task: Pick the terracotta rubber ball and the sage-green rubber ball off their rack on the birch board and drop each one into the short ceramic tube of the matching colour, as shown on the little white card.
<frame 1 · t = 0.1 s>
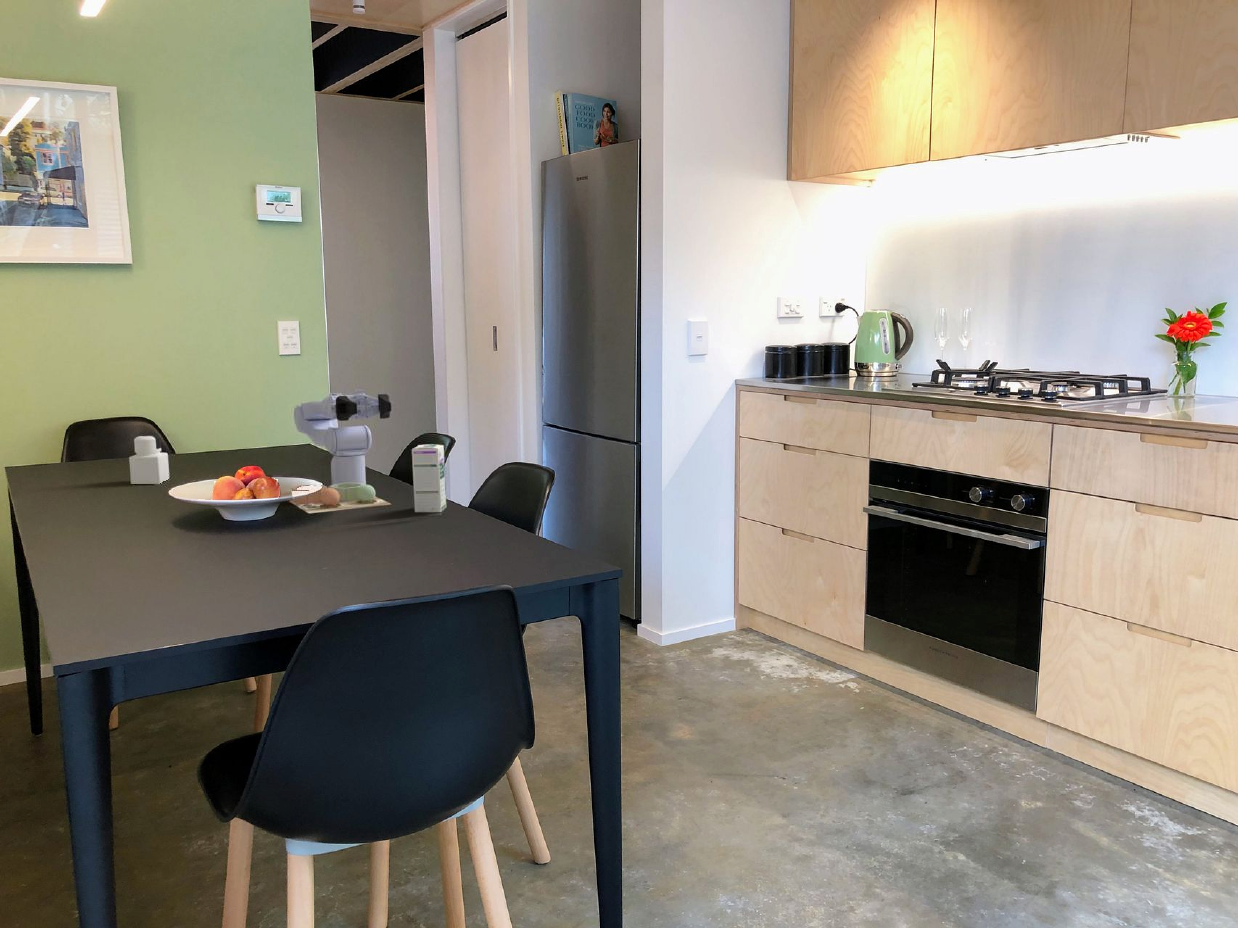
hand: (372, 407, 215), 22 cm above the table, tool horizontal, fingers open, 7 cm apart
terracotta tube: (310, 504, 217), resting on board
sage tube: (348, 501, 220), resting on board
medicine bottle: (150, 483, 247), on the table
sage ball: (366, 502, 215), point 1 cm above the table, touching board
syrup box: (430, 513, 207), on the table
terracotta ball: (330, 506, 211), point 1 cm above the table, touching board
board: (338, 505, 216), on the table
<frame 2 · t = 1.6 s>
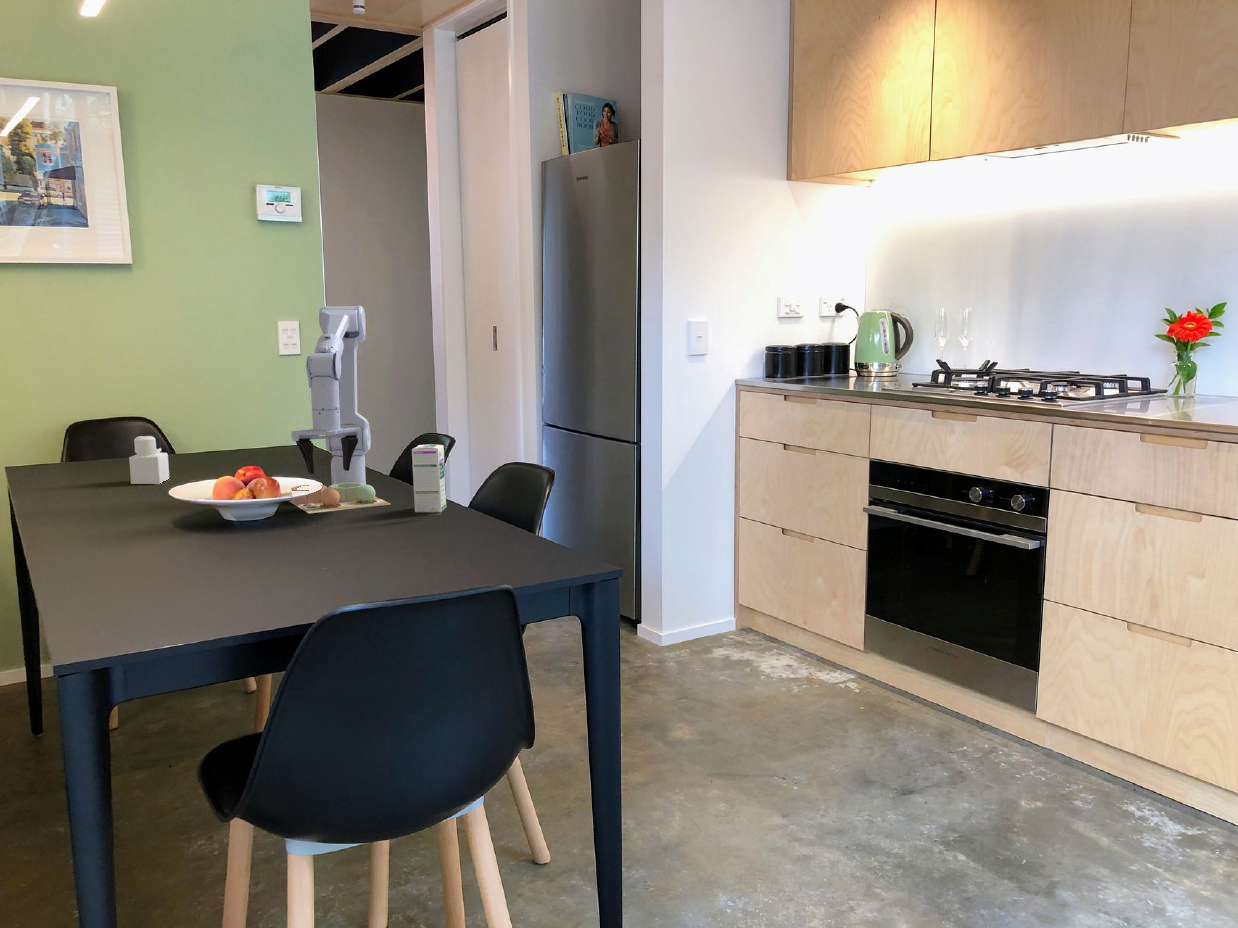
hand: (328, 471, 210), 8 cm above the table, tool pointing down, fingers open, 7 cm apart
nothing on the table moved.
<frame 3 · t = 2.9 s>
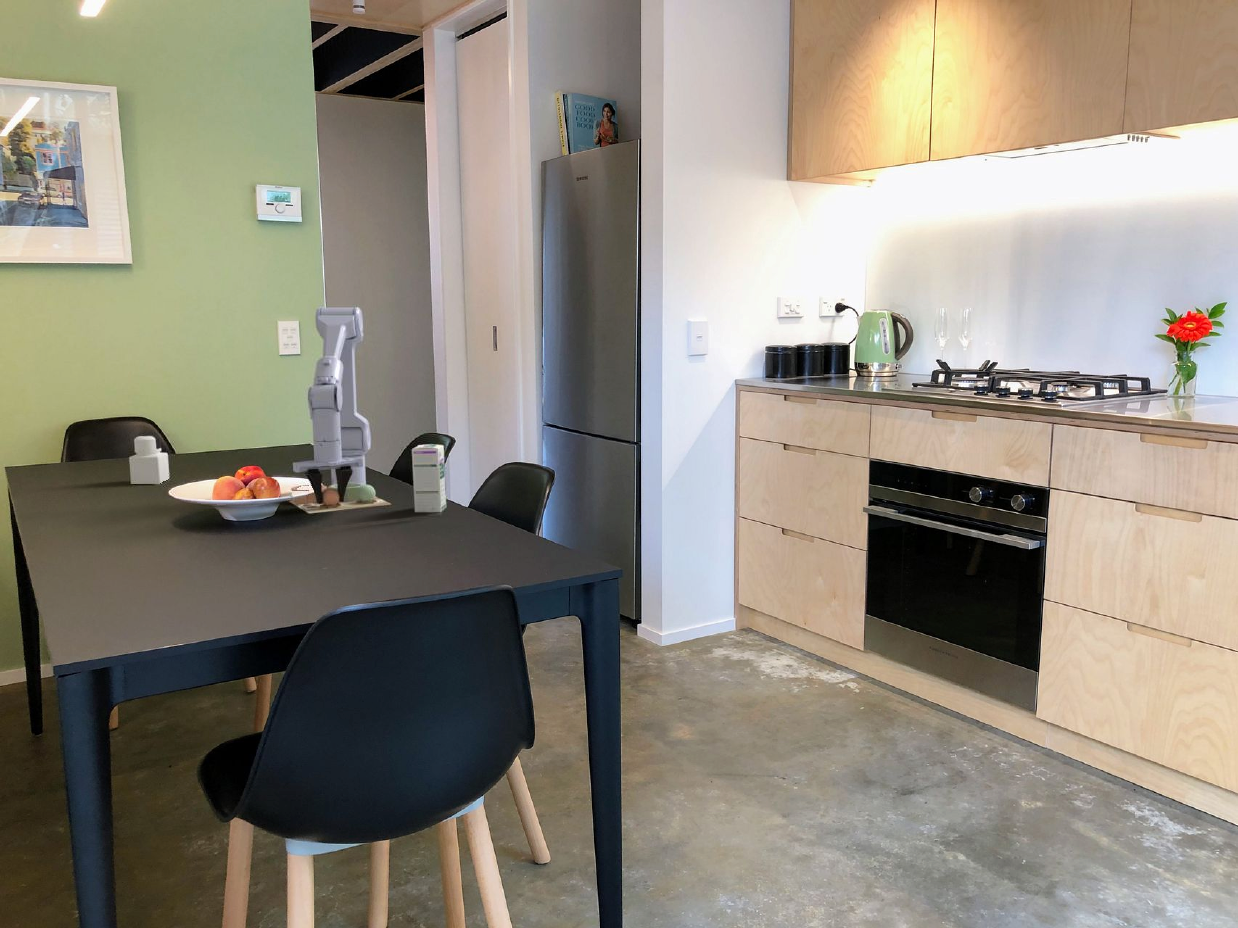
hand: (330, 502, 211), 2 cm above the table, tool pointing down, fingers closed on terracotta ball, 4 cm apart
terracotta ball: (330, 506, 211), point 1 cm above the table, touching board, gripper
everything else where it was.
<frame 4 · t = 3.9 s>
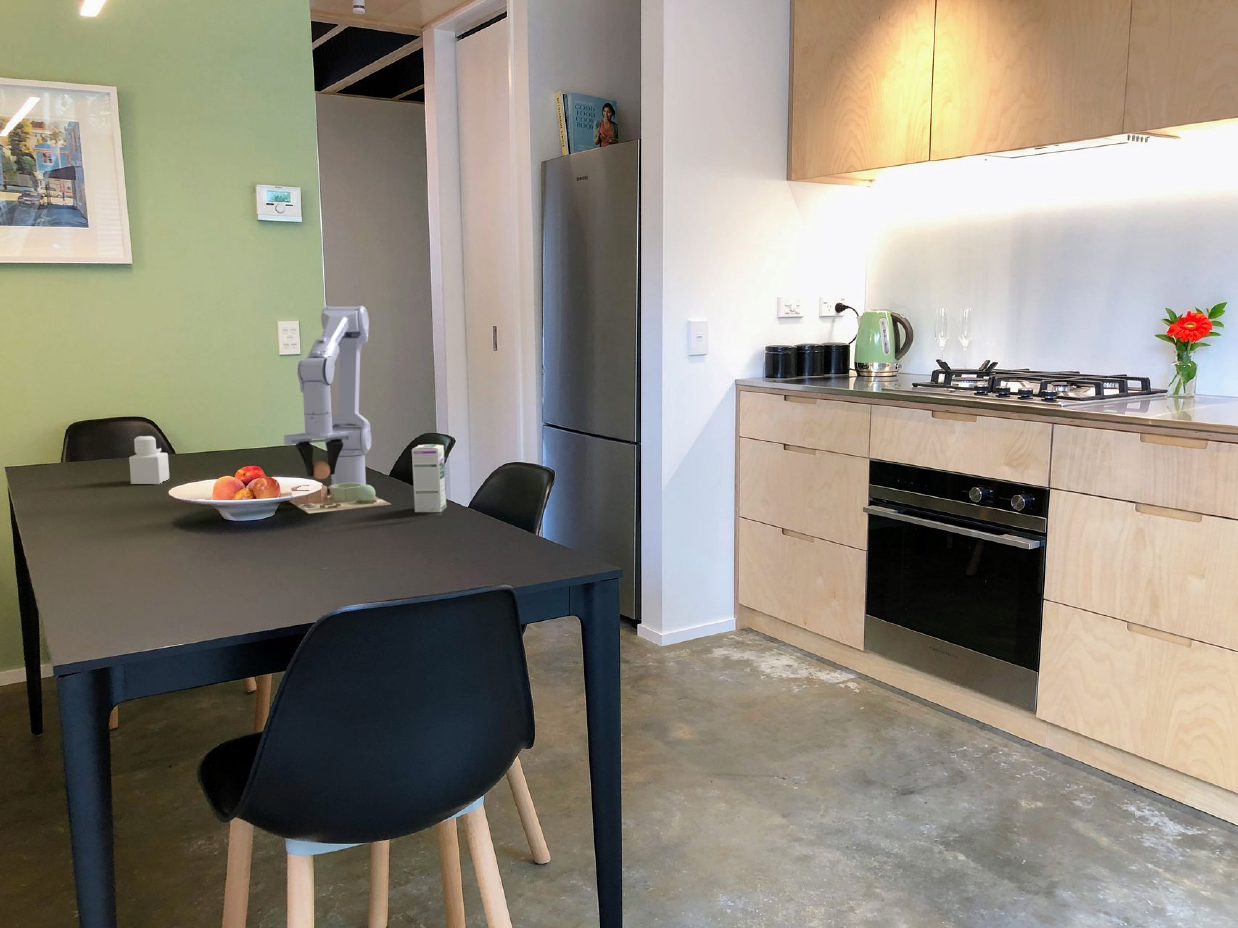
hand: (321, 475, 212), 7 cm above the table, tool pointing down, fingers closed on terracotta ball, 4 cm apart
terracotta ball: (321, 479, 213), point 6 cm above the table, touching gripper
everything else where it was.
when the fingers open (5 cm above the table, at t = 5.0 s): terracotta ball drops 3 cm, resting on board.
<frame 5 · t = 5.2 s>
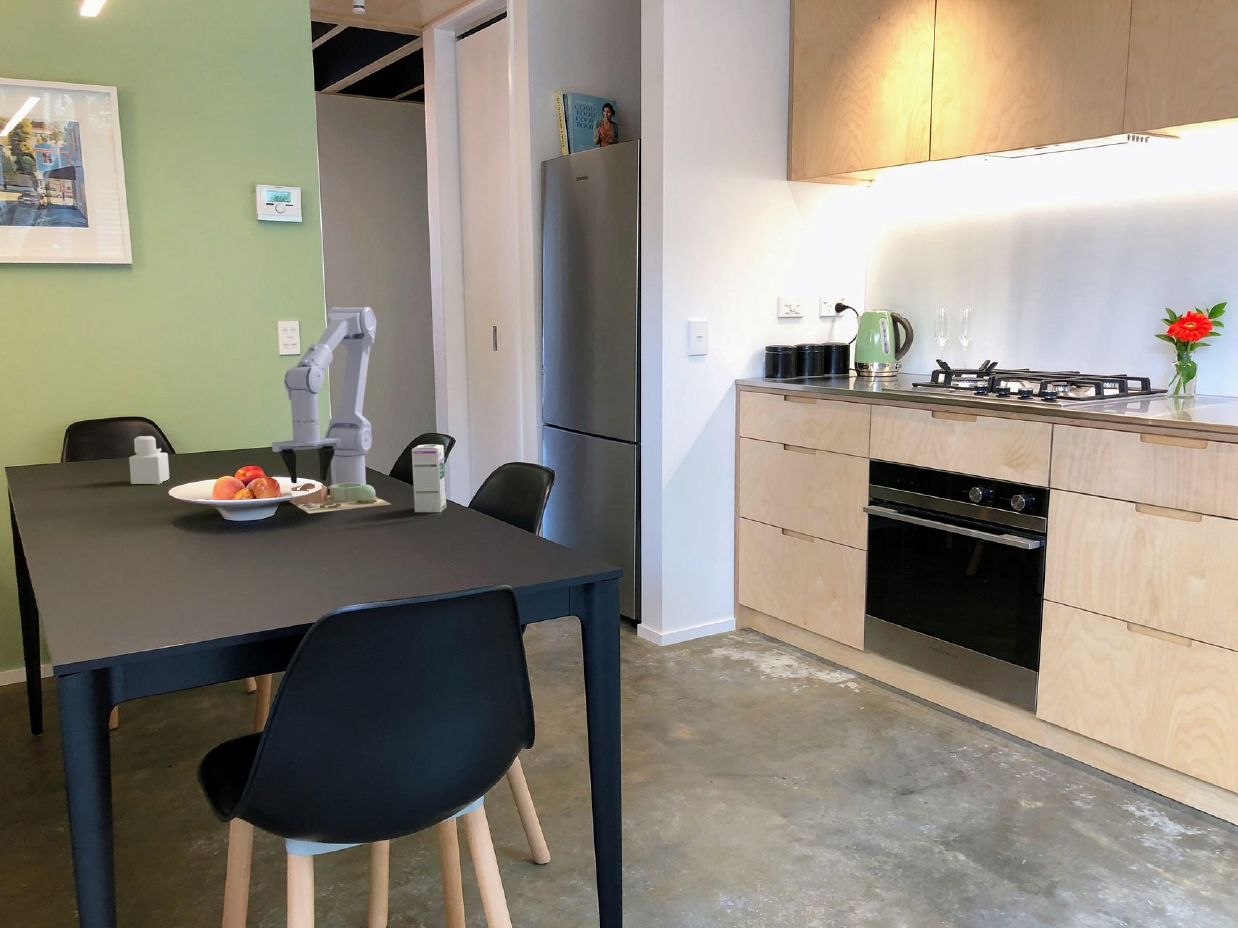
hand: (308, 481, 216), 5 cm above the table, tool pointing down, fingers open, 6 cm apart
terracotta ball: (310, 500, 217), point 1 cm above the table, tilted 6°, touching board
everything else where it was.
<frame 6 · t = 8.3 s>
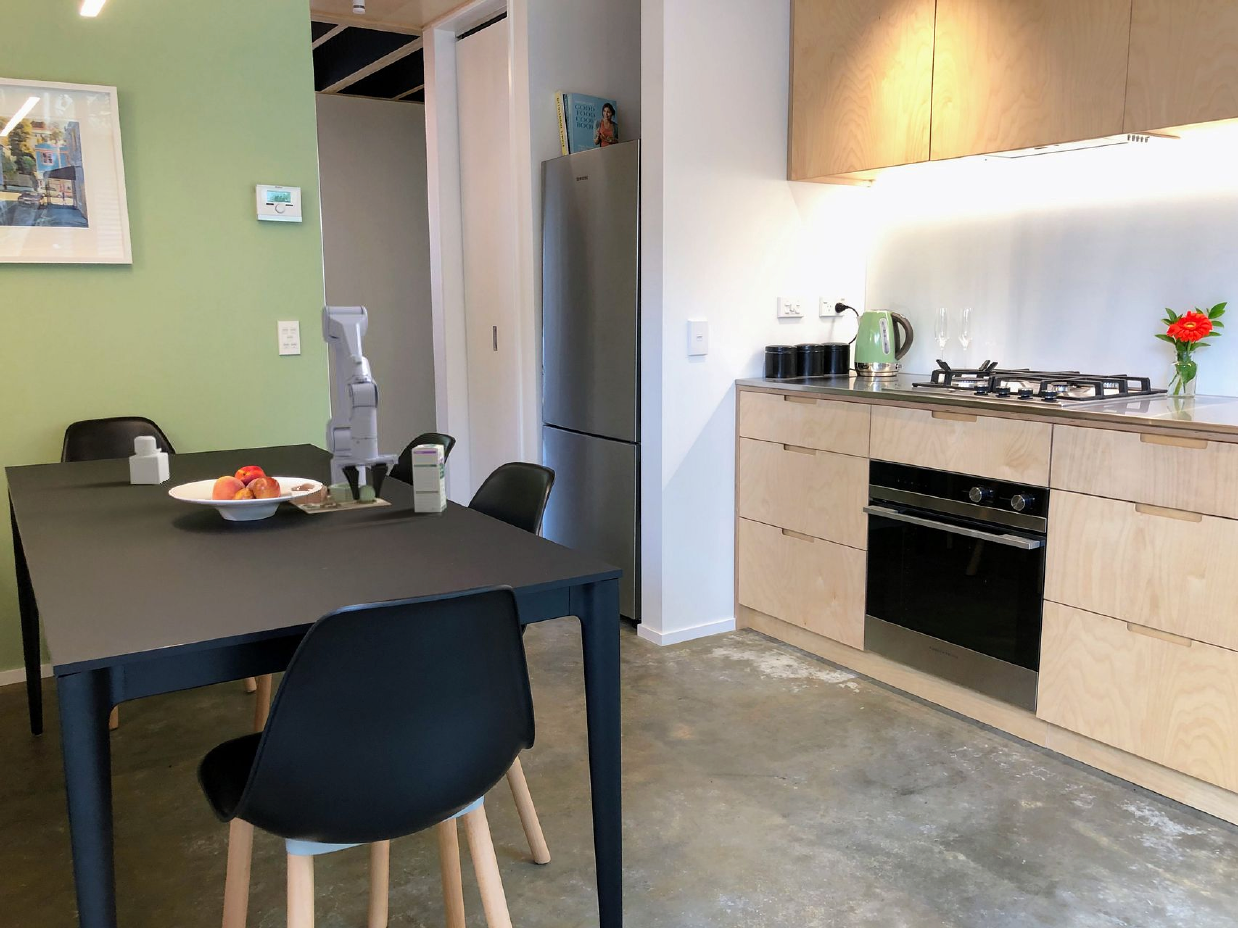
hand: (366, 498, 215), 2 cm above the table, tool pointing down, fingers closed on sage ball, 4 cm apart
sage ball: (366, 502, 215), point 1 cm above the table, touching board, gripper
terracotta ball: (310, 500, 217), point 1 cm above the table, tilted 14°, touching board
everything else where it was.
when the fingers open (5 cm above the table, at t = 10.2 s): sage ball drops 3 cm, resting on board.
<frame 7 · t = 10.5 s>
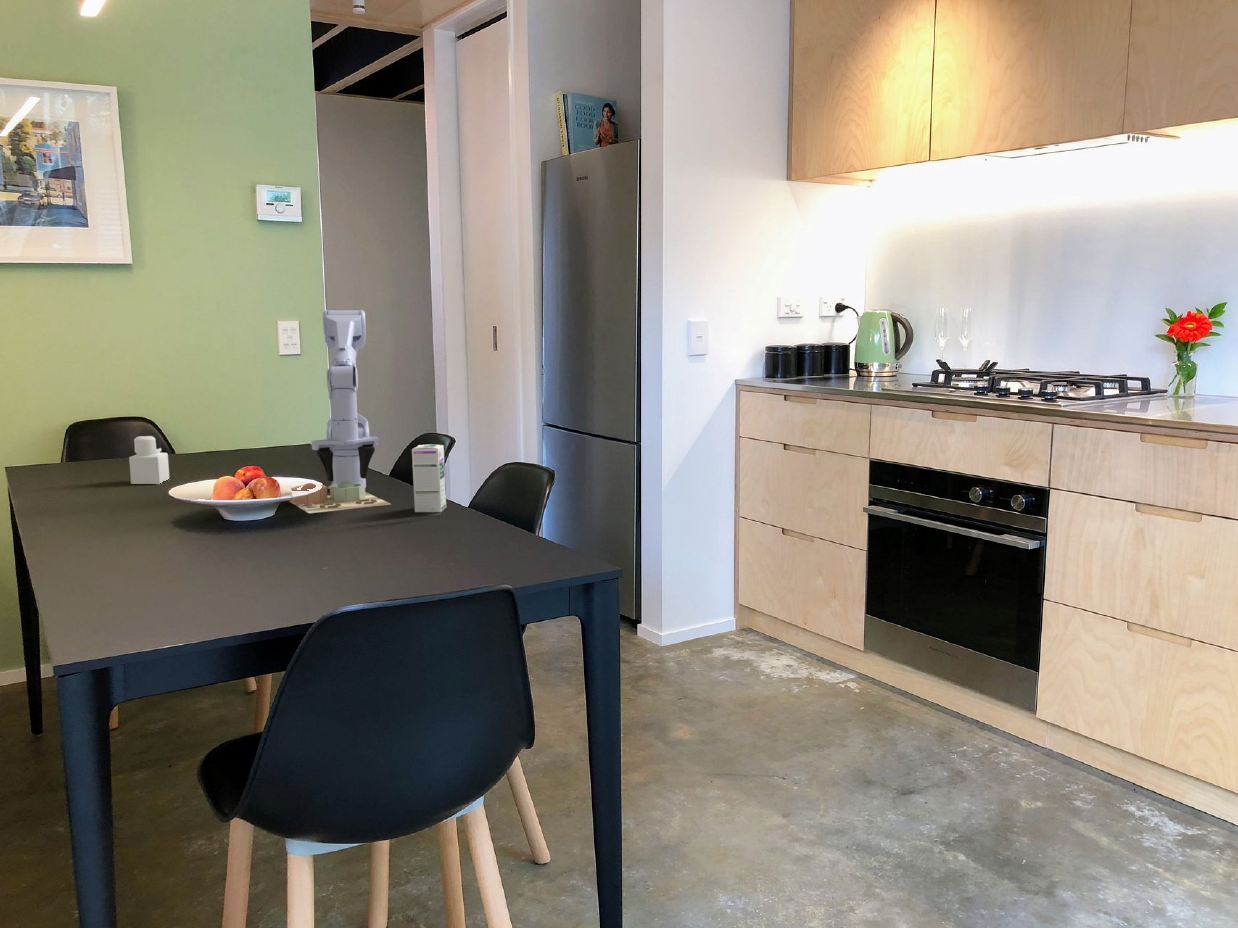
hand: (347, 479, 219), 5 cm above the table, tool pointing down, fingers open, 7 cm apart
sage ball: (348, 498, 220), point 1 cm above the table, tilted 9°, touching board
terracotta ball: (310, 500, 217), point 1 cm above the table, touching board
everything else where it was.
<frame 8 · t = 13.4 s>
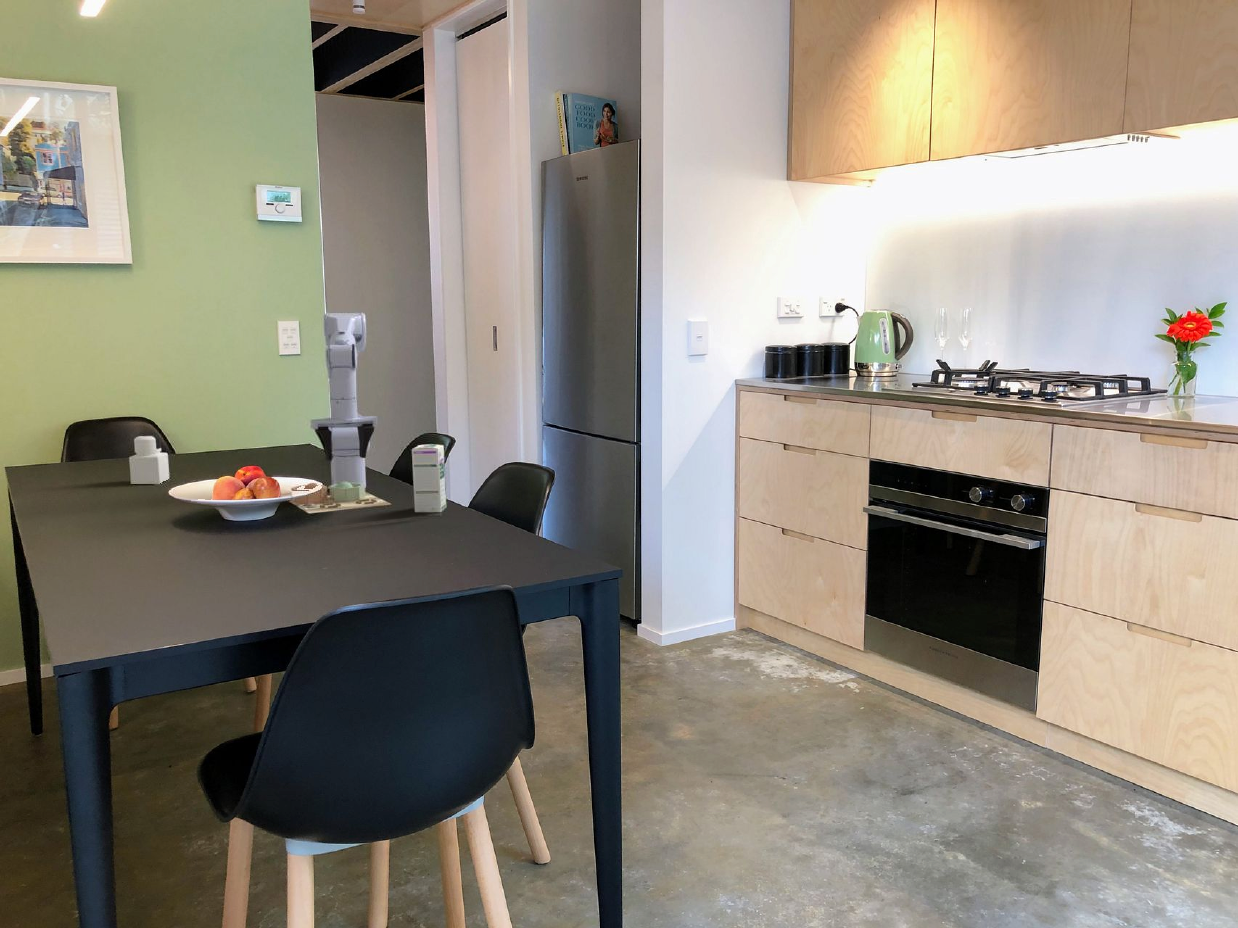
hand: (346, 458, 218), 10 cm above the table, tool pointing down, fingers open, 7 cm apart
sage ball: (348, 497, 220), point 1 cm above the table, tilted 24°, touching board
terracotta ball: (310, 500, 217), point 1 cm above the table, tilted 19°, touching board
everything else where it was.
at the end: terracotta ball 0.1 cm from the target spot, point 0.9 cm above the table; sage ball 0.1 cm from the target spot, point 1.0 cm above the table; the gripper is holding nothing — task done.
